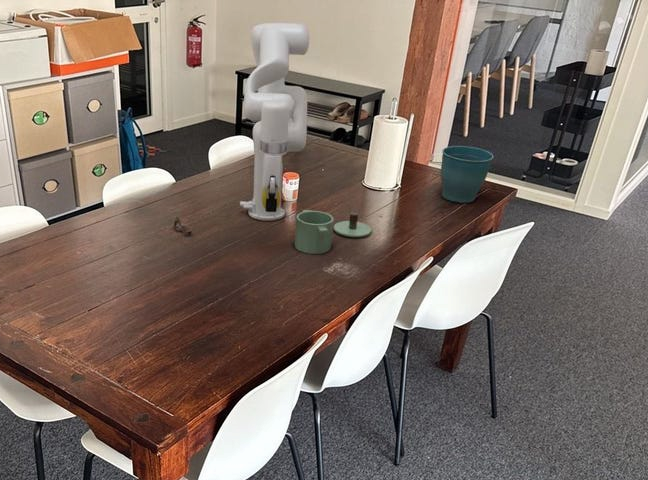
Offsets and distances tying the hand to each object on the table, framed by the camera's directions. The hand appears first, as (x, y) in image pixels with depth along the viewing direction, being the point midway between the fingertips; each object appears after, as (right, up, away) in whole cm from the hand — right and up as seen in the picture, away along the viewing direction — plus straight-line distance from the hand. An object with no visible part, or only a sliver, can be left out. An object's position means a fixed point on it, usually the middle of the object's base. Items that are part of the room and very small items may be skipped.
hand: (270, 206), depth 203 cm
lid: (+28, -2, +23) cm, 36 cm away
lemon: (0, -1, +1) cm, 2 cm away
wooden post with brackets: (-29, -5, +18) cm, 34 cm away
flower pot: (+72, +15, +54) cm, 91 cm away
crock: (+13, -10, +12) cm, 20 cm away
